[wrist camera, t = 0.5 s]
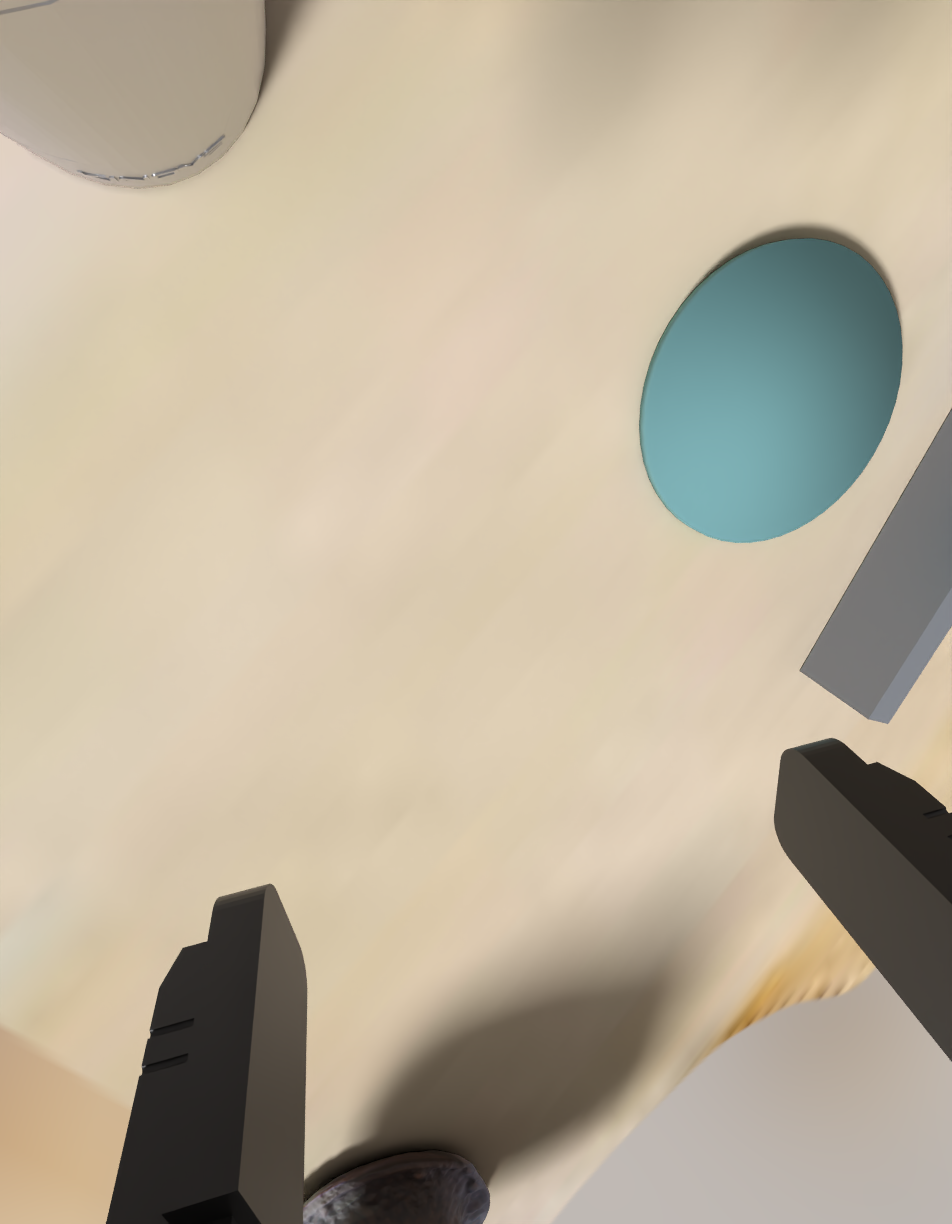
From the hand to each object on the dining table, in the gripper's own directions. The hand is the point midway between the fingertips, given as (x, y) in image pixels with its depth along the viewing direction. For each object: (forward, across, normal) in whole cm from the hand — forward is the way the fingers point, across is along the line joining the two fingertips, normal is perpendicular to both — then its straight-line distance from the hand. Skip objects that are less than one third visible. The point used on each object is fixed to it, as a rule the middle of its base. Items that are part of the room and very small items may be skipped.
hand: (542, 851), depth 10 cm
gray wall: (+21, -27, +5) cm, 34 cm away
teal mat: (+21, -17, 0) cm, 27 cm away
